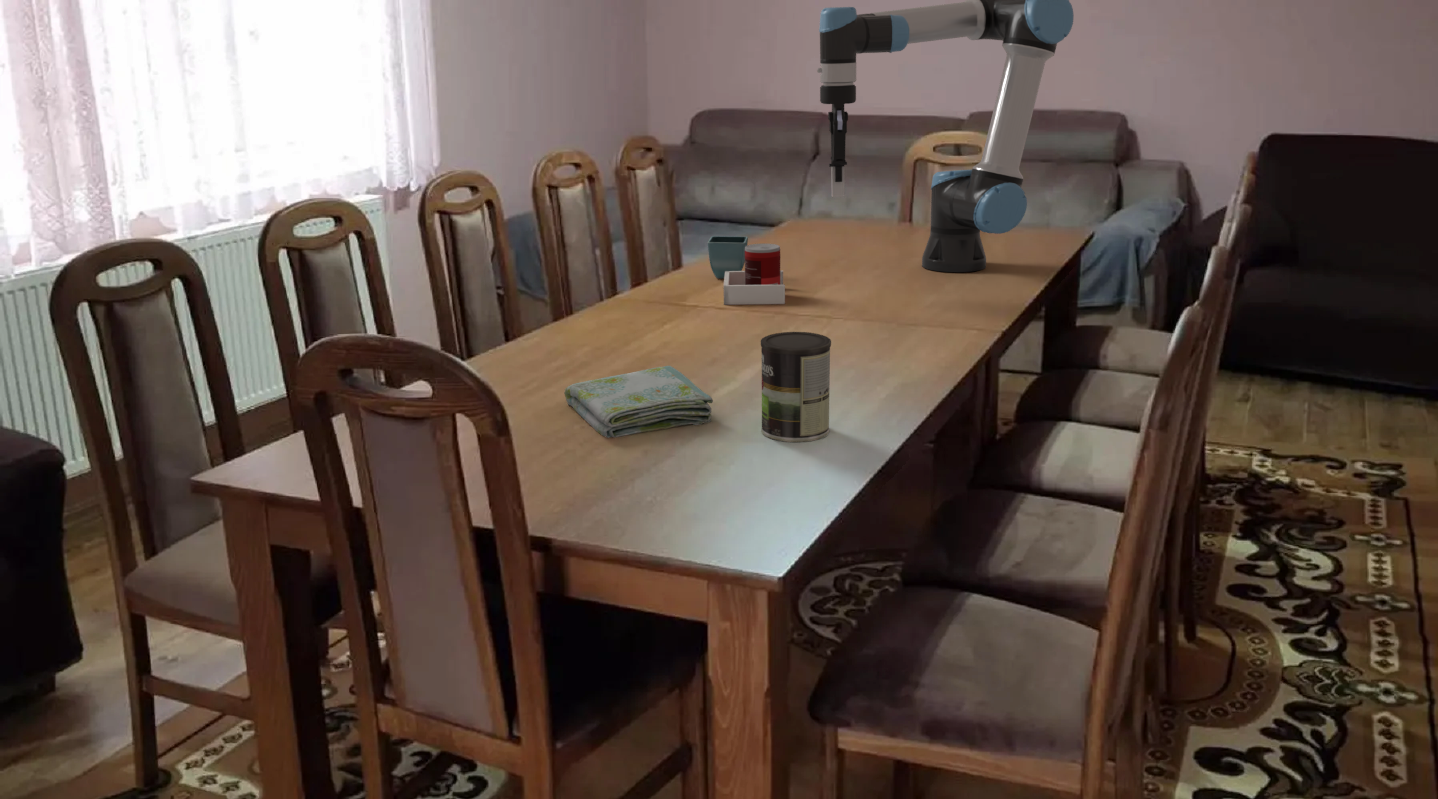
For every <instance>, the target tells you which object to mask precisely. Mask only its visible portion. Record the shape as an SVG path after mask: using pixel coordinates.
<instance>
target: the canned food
mask: <svg viewBox="0 0 1438 799" xmlns="http://www.w3.org/2000/svg"><path fill="white" fill-rule="evenodd" d="M744 271H745V285H780V271H781V246H780V245H778V244H775V243H754V244H747V246H746V247H745V263H744Z"/></svg>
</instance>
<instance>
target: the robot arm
mask: <svg viewBox="0 0 1438 799" xmlns="http://www.w3.org/2000/svg"><path fill="white" fill-rule="evenodd" d="M1072 5H1073V4H1072V3H1071V2H1070V0H964V1H963V2H954V3H946V4H937V5H936V4H935V5H930V6H922V7H921V6H919V7H912V8H903V9H896V10H894V9H893V10H886V11H878V12H871V13H861V14H857V9H856V8H855V6H843V7H842V6H841V7H840V6H839V7H838V6H837V7H836V6H835V7H834V6H833V7H832V6H830V7H824V8H822V10H820V18H819V29H818V32H819V54H820V56H819V61H820V67H818V68H817V69H816V72H817V73H819V74H820V75H819V76H820V77H819V78H820V79H819V80H820V81H819V82H820V83H821V84H822V85H821V86H820V87H819V99H820V100H819V102H820V104H823V105H831V111H829V112H828V114H827V116H828V117H827V118H828V121H829V124H828V125H829V126H828V127H829V133H830V163H829V164H828V166H829V167H830V168H831V197H832V198H845V197H846V196H845V188H846V187H845V186H846V185H845V183H846V182H845V180H846V177H845V176H846V175H845V174H846V173H845V172H846V170H845V169H846V167H845V166H848V162H847V161H846V137H847V135H846V134H847V132H848V131H847V130H848V129H847V128H848V123H847V122H848V120H849V112H847V111H845V105H847V104H854V103H856V101H857V86H856V85H855V84H854V83H855V82H856V81H857V55H858V54H880V53H889V54H892V53H895V52H901V51H903V50H905V48H906V47H907V46H908V45H910V44H917V43H925V42H926V43H927V42H935V41H941V40H950V39H960V38H967V39H968V40H971V41H979V40H980V41H981V40H994V41H1002V45H1001V46H1002V48H1003V50H1004V51H1005V53H1006V58H1005V61H1004V66H1003V69H1002V74H1001V77H1000V81H999V86H998V90H997V93H996V94H997V95H996V98H995V102H994V107H993V111H992V115H991V118H990V119H991V120H990V123H989V127H988V131H987V135H986V140H985V145H984V148H983V152H982V155H981V156H982V157H981V160H980V161H979V162H978V163H976V164H975V165H974V166H972V169H960V170H959V169H956V170H943V171H937V172H935V173H934V174H933V175H932V179H931V186H930V190H931V199H930V200H931V201H930V202H931V203H930V204H931V205H930V206H931V207H930V234H929V237H928V239H927V243H926V244H925V245H926V246H925V248H924V251H923V253H922V257H921V258H922V259H921V267H923V268H924V269H927V270H929V271H935V272H941V273H942V272H943V273H968V272H969V273H971V272H977V271H978V272H979V271H981V270H984V269H986V268H987V257H986V252H985V250H984V249H985V248H984V246H983V243H982V239H981V232H983V233H988V234H995V235H997V234H999V235H1000V234H1005V233H1008V232H1010V231H1012V230H1013V229H1015V228H1016V227H1017V226H1018V225H1019V224H1020V223H1021V222H1022V220H1023V218H1024V217H1025V214H1026V211H1027V209H1028V208H1027V207H1028V198H1027V196H1026V193H1025V191H1024V190H1023V188H1022V186H1023V182H1024V176H1023V174H1022V173H1021V171H1020V165H1021V162H1022V158H1023V154H1024V149H1025V146H1026V141H1027V137H1028V134H1029V130H1030V125H1031V122H1032V116H1033V113H1034V109H1035V105H1036V101H1037V96H1038V92H1039V88H1040V85H1041V82H1042V81H1041V80H1042V76H1043V73H1044V69H1045V63H1046V62H1047V61H1048V60H1049V59H1051V58H1052V57H1054V56H1055V53H1056V49H1057V45H1058V43H1060V42H1062V41H1064V38H1067V37H1068V35H1069V34H1070V32H1071V30H1072V29H1073V28H1072V27H1073V24H1074V8H1073V6H1072Z"/></svg>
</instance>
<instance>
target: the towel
mask: <svg viewBox="0 0 1438 799" xmlns="http://www.w3.org/2000/svg"><path fill="white" fill-rule="evenodd" d="M563 393H564V396H565V401H566V403H567V405H568V406H570V407H572V409H573V410H574V411H575V412H576V413H577V414H578V415H579V416H580V417H581V418H582V419H584V420H585V422H587V423H588V424H589V426H591V427H592V428H593V429H594V430H595V431H596V432H597V433H598V434H600V435H601V436H603V437H605V438H607V439H610V438H612V437H613V438H614V439H615V438H620V437H625V436H630V435H634V434H639V433H646V432H652V431H658V430H663V429H664V430H665V429H670V428H673V427H679V426H686V425H694V426H698V425H703V423H710V422H711V421H712V419H711V418H712V415H711V414H712V407H711V405H710V404H712V403H713V402H714V399H713V398H712V396H711V395H709V394H707V392H704V391H703V390H702V389H700V388H699V387H698V386H697V385H695V384H694V383H693V382H692V381H691V379H690V378H688V377H687V376H685V375H684V374H683V373H682V372H681V371H679V370H678V369H677V368H674V366H671V365H665V366H657V367H652V368H647V369H642V370H638V371H633V372H629V373H621V374H617V375H611V376H605V377H601V378H596V379H590V380H589V379H588V380H585V381H581V382H576V383H572V384H571V385H567V387H565V389H564V392H563Z"/></svg>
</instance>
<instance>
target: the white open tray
mask: <svg viewBox="0 0 1438 799" xmlns="http://www.w3.org/2000/svg"><path fill="white" fill-rule="evenodd" d="M723 279H724V280H723V305H727V306H728V305H785V304H786V285H785V284H784V270H780V285H745V270H742V271H725V276H724V278H723Z"/></svg>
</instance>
